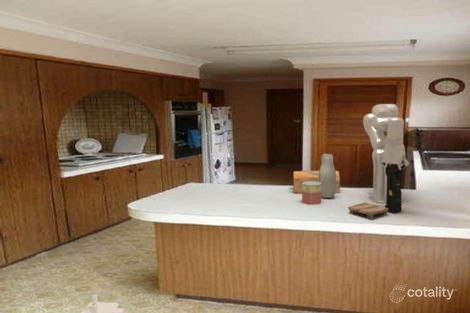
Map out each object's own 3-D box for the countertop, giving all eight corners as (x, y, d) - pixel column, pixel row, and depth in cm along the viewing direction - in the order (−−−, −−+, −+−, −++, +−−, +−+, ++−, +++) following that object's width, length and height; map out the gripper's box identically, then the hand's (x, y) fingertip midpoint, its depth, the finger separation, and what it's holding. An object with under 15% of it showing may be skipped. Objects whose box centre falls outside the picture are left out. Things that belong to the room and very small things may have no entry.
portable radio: (393, 214, 173) (395, 167, 170) (383, 211, 179) (384, 165, 175) (402, 211, 178) (404, 165, 174) (391, 208, 183) (393, 164, 179)
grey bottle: (330, 195, 215) (330, 152, 211) (338, 199, 205) (338, 154, 201) (316, 196, 213) (316, 153, 209) (323, 200, 203) (323, 155, 199)
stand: (348, 213, 177) (348, 206, 177) (365, 208, 185) (365, 202, 184) (371, 220, 165) (371, 213, 165) (388, 214, 173) (388, 208, 172)
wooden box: (336, 188, 234) (336, 168, 232) (340, 194, 218) (340, 173, 216) (293, 188, 239) (293, 169, 237) (293, 193, 223) (293, 173, 221)
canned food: (314, 199, 207) (314, 180, 205) (325, 204, 196) (325, 184, 195) (298, 201, 204) (298, 182, 202) (308, 206, 193) (308, 186, 191)
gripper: (375, 141, 178) (374, 174, 181) (406, 143, 164) (405, 179, 166) (384, 140, 182) (383, 172, 185) (415, 142, 168) (414, 177, 170)
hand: (393, 175), depth 175 cm, fingers open, 6 cm apart
